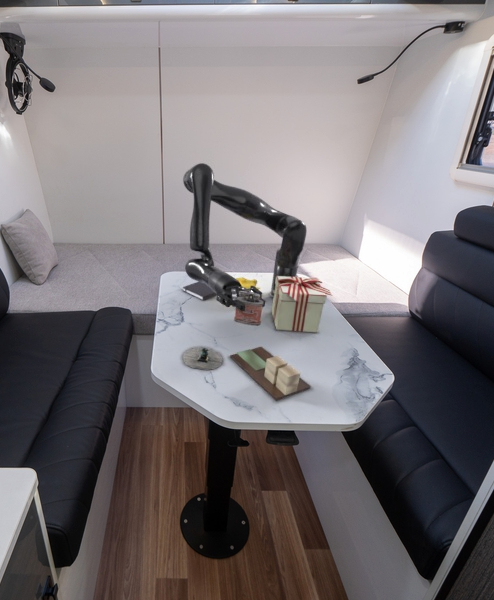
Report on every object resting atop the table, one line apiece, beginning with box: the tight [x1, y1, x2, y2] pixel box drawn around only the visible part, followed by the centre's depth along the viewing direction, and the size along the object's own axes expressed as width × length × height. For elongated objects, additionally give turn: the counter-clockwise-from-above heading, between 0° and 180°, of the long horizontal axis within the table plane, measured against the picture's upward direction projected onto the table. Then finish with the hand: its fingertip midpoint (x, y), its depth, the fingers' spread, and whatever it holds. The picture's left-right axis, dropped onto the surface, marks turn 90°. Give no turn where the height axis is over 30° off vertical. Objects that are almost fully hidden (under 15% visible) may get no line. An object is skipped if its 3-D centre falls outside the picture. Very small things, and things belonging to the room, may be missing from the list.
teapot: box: [235, 277, 261, 290], centre depth 149 cm, size 14×13×10 cm
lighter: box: [233, 291, 263, 327], centre depth 111 cm, size 8×3×10 cm, turn 70°
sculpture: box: [182, 346, 224, 371], centre depth 115 cm, size 12×9×8 cm
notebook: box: [182, 281, 217, 301], centre depth 162 cm, size 13×2×21 cm
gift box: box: [271, 276, 333, 334], centre depth 132 cm, size 17×18×17 cm
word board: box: [229, 346, 312, 401], centre depth 108 cm, size 12×22×7 cm, turn 26°
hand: (254, 306), depth 109 cm, fingers closed on lighter, 6 cm apart
